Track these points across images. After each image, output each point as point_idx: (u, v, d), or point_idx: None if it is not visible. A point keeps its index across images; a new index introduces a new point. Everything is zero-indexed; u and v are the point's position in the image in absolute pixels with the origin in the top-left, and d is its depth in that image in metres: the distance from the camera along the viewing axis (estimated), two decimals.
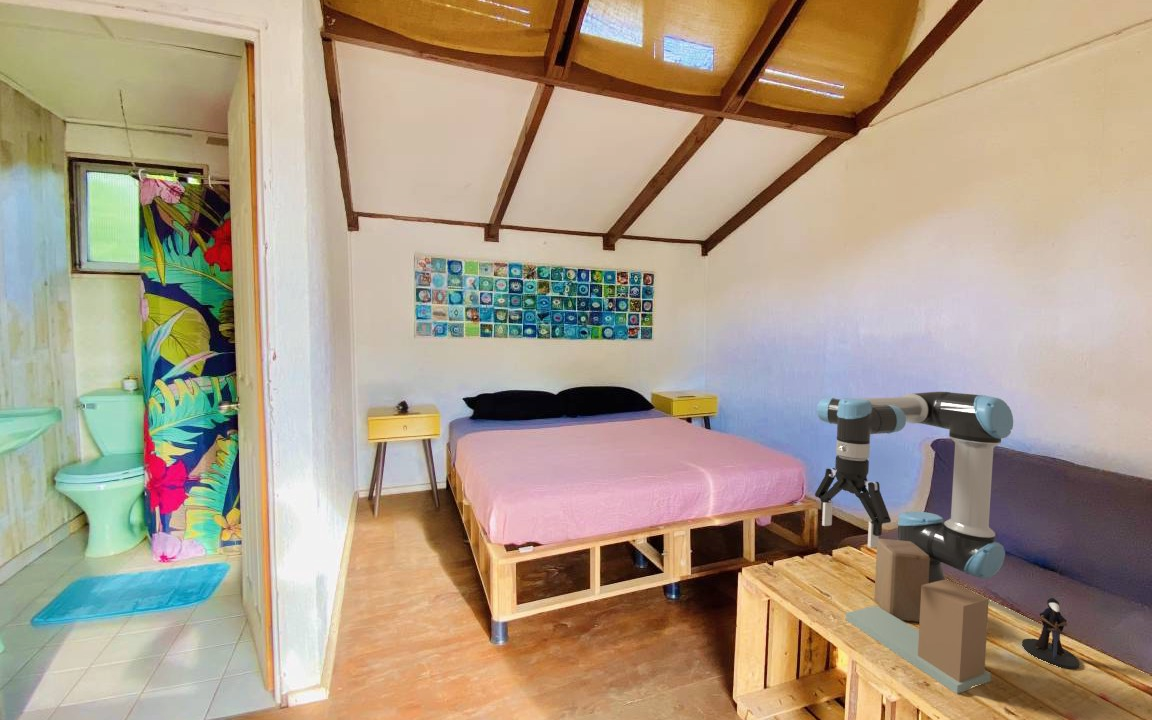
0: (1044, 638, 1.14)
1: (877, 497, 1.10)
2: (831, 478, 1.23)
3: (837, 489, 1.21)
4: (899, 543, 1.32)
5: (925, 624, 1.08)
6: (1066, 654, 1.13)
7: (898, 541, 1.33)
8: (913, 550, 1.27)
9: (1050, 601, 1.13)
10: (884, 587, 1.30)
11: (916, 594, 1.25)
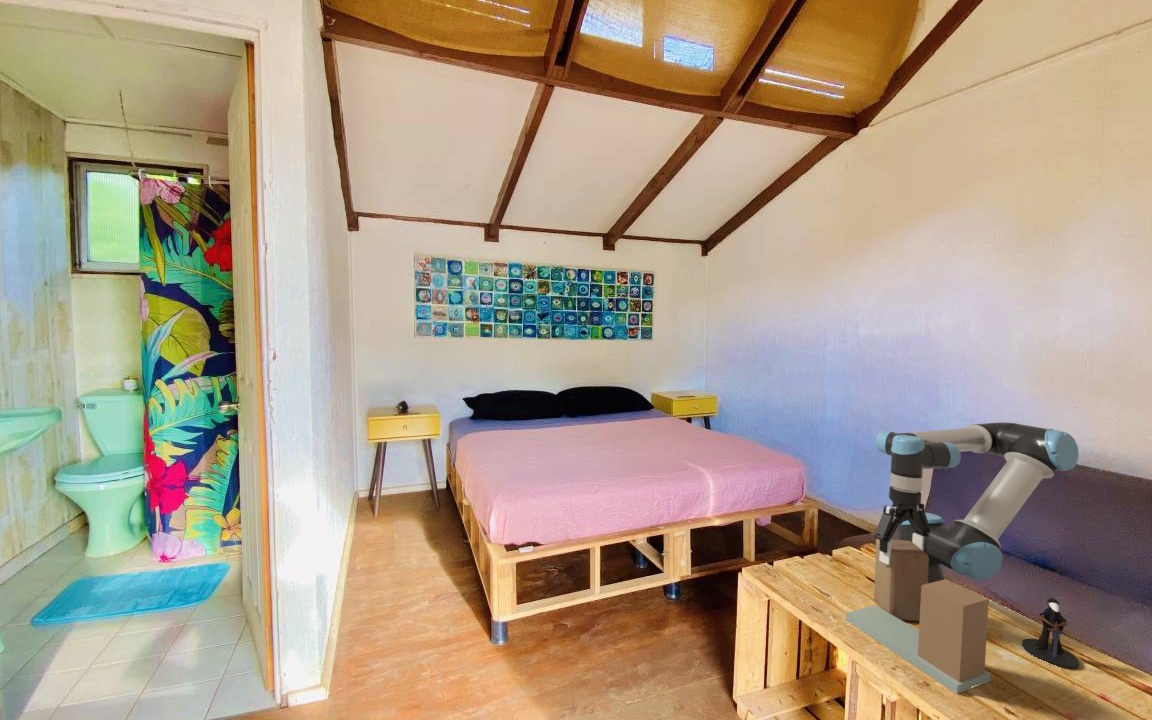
0: (1044, 638, 1.14)
1: (883, 518, 1.28)
2: (918, 512, 1.31)
3: None
4: (898, 543, 1.32)
5: (925, 624, 1.08)
6: (1066, 654, 1.13)
7: (897, 541, 1.33)
8: (912, 550, 1.27)
9: (1050, 601, 1.13)
10: (884, 587, 1.30)
11: (915, 594, 1.25)
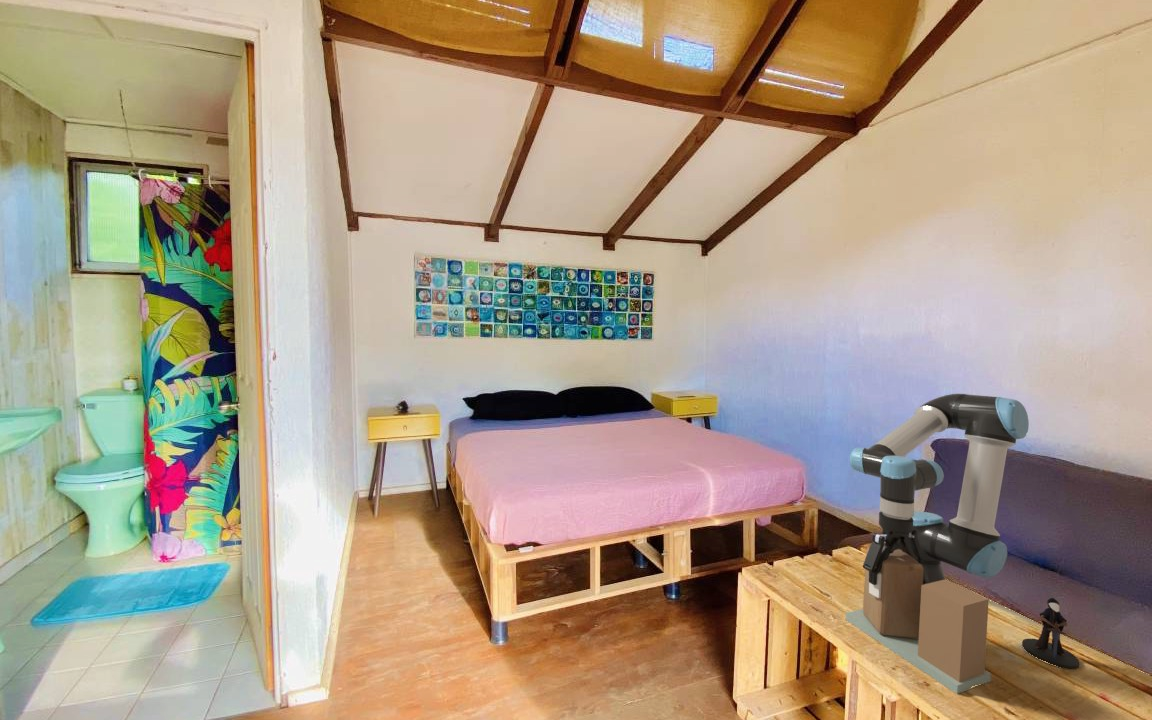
0: (1044, 638, 1.14)
1: (872, 547, 1.17)
2: (910, 538, 1.21)
3: None
4: None
5: (925, 624, 1.08)
6: (1066, 654, 1.13)
7: None
8: (905, 560, 1.17)
9: (1050, 601, 1.13)
10: (875, 600, 1.19)
11: (909, 608, 1.15)
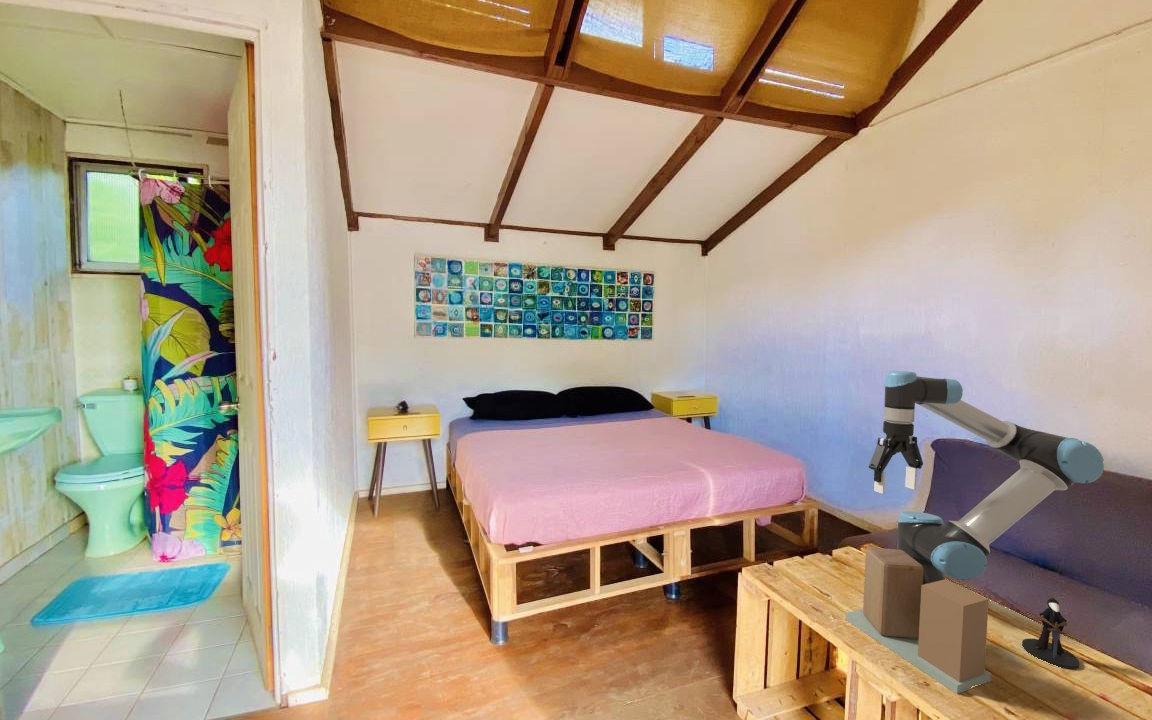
0: (1044, 638, 1.14)
1: (877, 449, 1.32)
2: (911, 445, 1.36)
3: (902, 452, 1.36)
4: (890, 552, 1.21)
5: (925, 624, 1.08)
6: (1066, 654, 1.13)
7: (888, 550, 1.23)
8: (905, 560, 1.17)
9: (1050, 601, 1.13)
10: (875, 601, 1.19)
11: (909, 609, 1.15)
